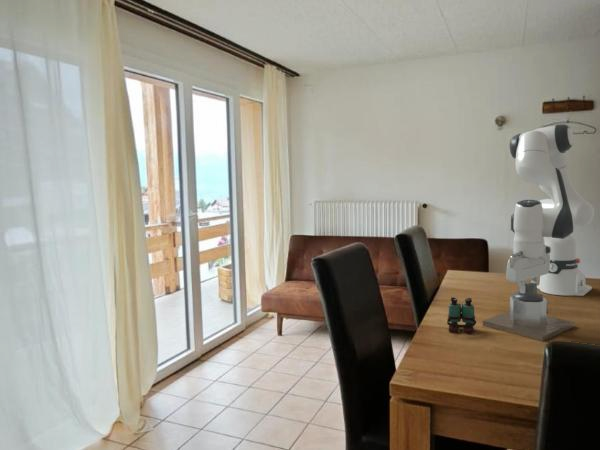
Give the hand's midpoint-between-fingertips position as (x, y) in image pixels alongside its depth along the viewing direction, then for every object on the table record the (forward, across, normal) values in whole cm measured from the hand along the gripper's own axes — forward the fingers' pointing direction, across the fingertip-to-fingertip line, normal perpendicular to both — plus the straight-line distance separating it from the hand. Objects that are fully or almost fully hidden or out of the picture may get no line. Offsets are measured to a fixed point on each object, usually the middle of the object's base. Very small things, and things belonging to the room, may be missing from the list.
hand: (528, 291), depth 147 cm
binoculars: (+12, -20, +11) cm, 26 cm away
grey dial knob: (+4, 0, 0) cm, 4 cm away
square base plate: (+12, 0, 0) cm, 12 cm away
